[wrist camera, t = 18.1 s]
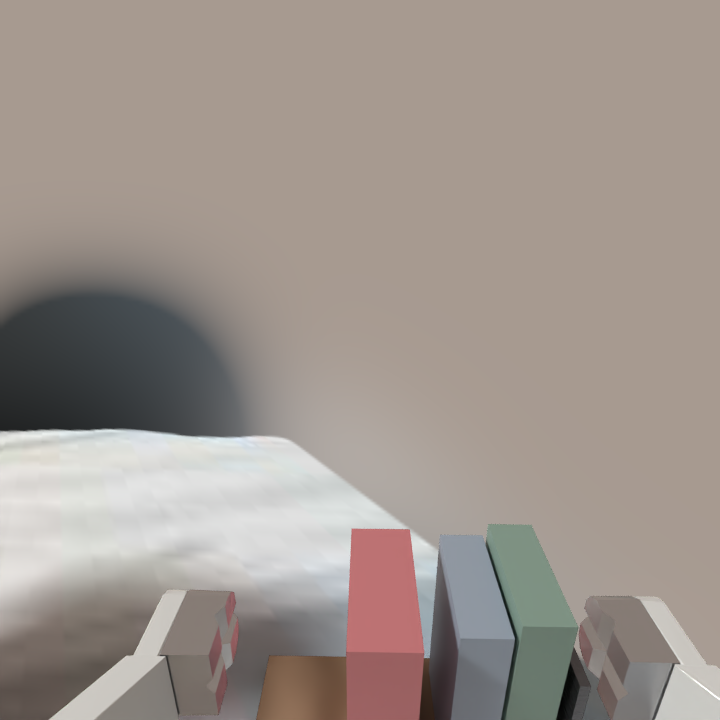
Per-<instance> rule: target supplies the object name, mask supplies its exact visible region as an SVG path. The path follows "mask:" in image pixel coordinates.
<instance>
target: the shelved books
mask: <svg viewBox="0 0 720 720" xmlns="http://www.w3.org/2000/svg"><path fill="white" fill-rule="evenodd" d="M577 631H578V626H577V623H576V621H575V619H574V617H573V615H572V612H571V610H570V608H569V606H568V604H567V602H566V600H565V597H564V595H563V593H562V591H561V589H560V586H559V584H558V582H557V580H556V578H555V575H554V573H553V571H552V569H551V567H550V565H549V563H548V560H547V558H546V556H545V554H544V552H543V549H542V547H541V545H540V543H539V541H538V539H537V536H536V534H535V532H534V530H533V528H532V525H505V524H503V525H502V524H500V525H499V524H497V525H496V524H488V530H487V537H486V545H485V542H484V539H483V536H481V535H440V542H439V554H438V566H437V578H436V589H435V601H434V613H433V625H432V637H431V649H430V661H429V676H430V684H431V692H432V701H433V709H434V717H435V720H556V717H557V713H558V709H559V705H560V701H561V697H562V693H563V689H564V684H565V680H566V676H567V672H568V668H569V664H570V660H571V656H572V652H573V647H574V643H575V639H576V635H577Z"/></svg>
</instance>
